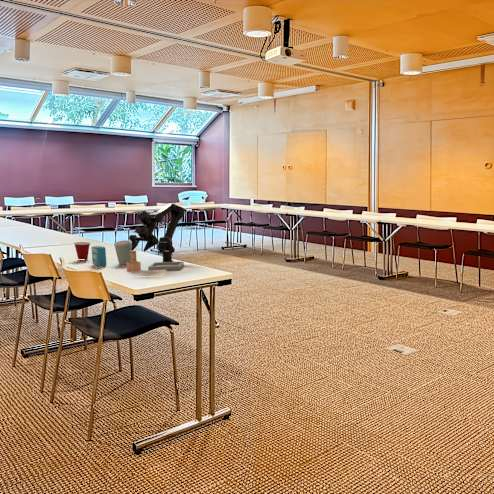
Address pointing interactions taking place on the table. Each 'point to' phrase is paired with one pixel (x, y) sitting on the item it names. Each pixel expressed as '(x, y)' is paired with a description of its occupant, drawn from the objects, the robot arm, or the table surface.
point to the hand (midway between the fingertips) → (137, 250)
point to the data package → (99, 255)
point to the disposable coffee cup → (123, 251)
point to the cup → (133, 266)
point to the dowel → (133, 257)
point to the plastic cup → (82, 249)
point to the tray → (166, 266)
